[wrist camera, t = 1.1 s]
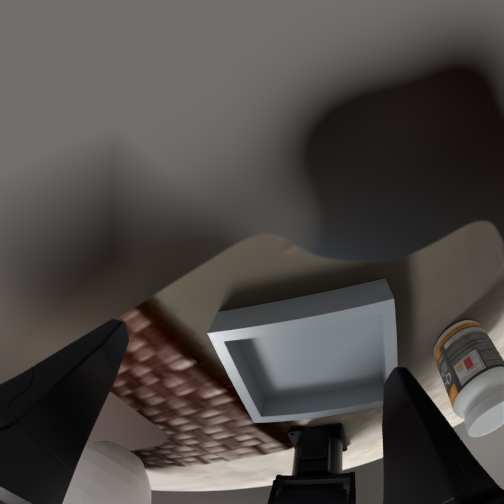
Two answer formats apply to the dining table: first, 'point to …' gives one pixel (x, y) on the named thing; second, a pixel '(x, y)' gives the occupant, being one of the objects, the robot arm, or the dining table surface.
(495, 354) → the pill bottle
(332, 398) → the tray
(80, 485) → the pitcher
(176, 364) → the dining table surface
